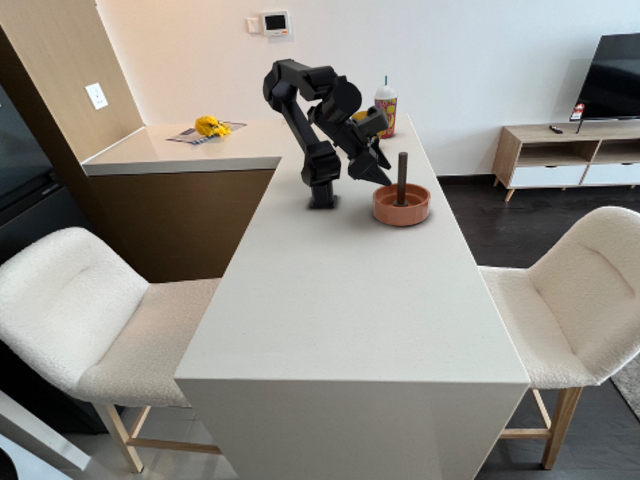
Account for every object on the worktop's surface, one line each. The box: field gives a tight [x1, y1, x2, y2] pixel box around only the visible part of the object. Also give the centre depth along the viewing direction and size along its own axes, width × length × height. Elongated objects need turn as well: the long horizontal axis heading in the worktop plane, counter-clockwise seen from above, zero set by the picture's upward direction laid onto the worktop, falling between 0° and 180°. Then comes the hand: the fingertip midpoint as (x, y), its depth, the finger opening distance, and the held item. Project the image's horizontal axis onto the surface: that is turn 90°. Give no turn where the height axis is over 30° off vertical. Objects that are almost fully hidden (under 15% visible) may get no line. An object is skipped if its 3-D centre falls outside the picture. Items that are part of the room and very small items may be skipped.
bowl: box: [372, 182, 432, 227], centre depth 80 cm, size 13×13×5 cm
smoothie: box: [373, 75, 399, 139], centre depth 123 cm, size 8×8×20 cm
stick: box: [393, 151, 409, 207], centre depth 77 cm, size 4×4×14 cm
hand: (390, 176), depth 77 cm, fingers open, 9 cm apart
